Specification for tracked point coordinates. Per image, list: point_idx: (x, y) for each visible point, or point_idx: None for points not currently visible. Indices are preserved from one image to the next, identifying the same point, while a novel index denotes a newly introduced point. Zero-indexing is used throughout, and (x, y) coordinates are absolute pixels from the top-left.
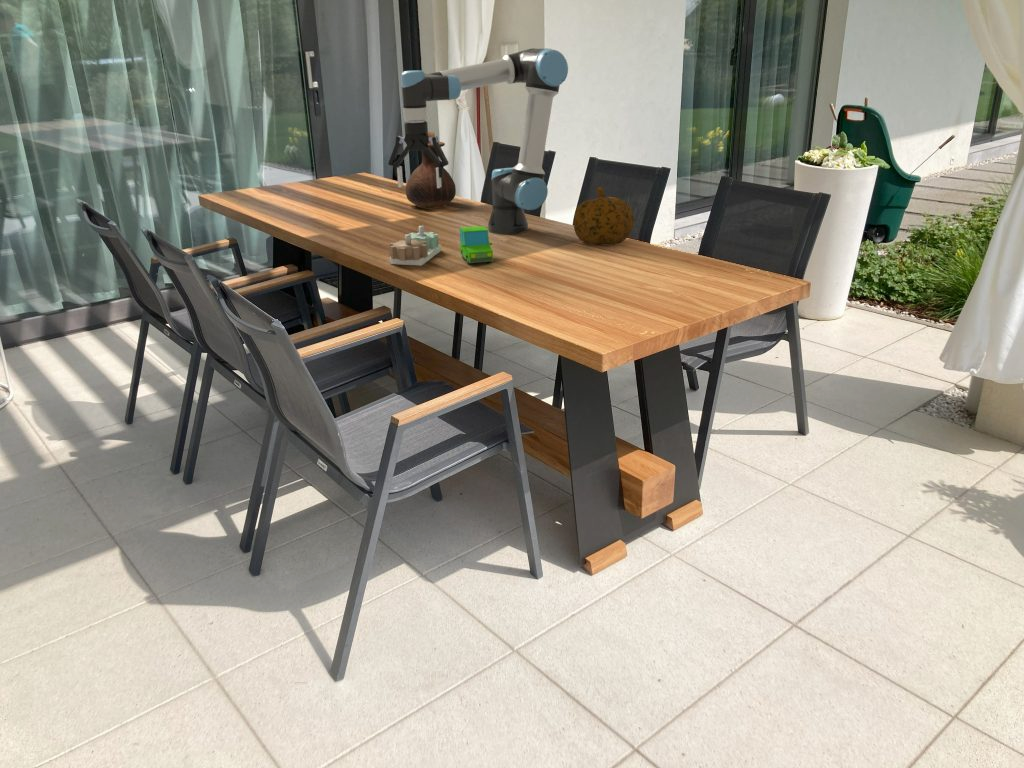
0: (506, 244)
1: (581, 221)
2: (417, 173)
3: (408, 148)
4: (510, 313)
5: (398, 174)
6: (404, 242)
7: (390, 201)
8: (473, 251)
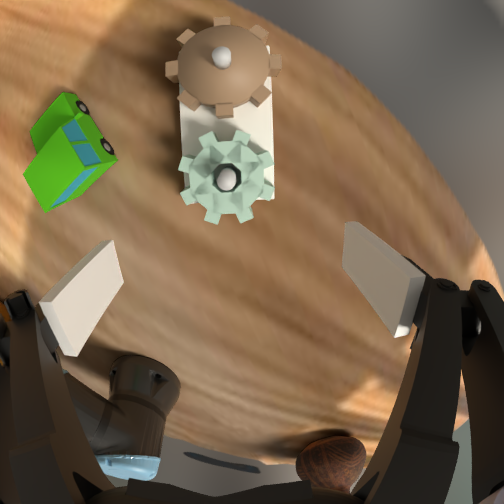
0: None
1: None
2: (352, 473)
3: (391, 493)
4: None
5: (389, 252)
6: (243, 76)
7: (380, 437)
8: (56, 103)
